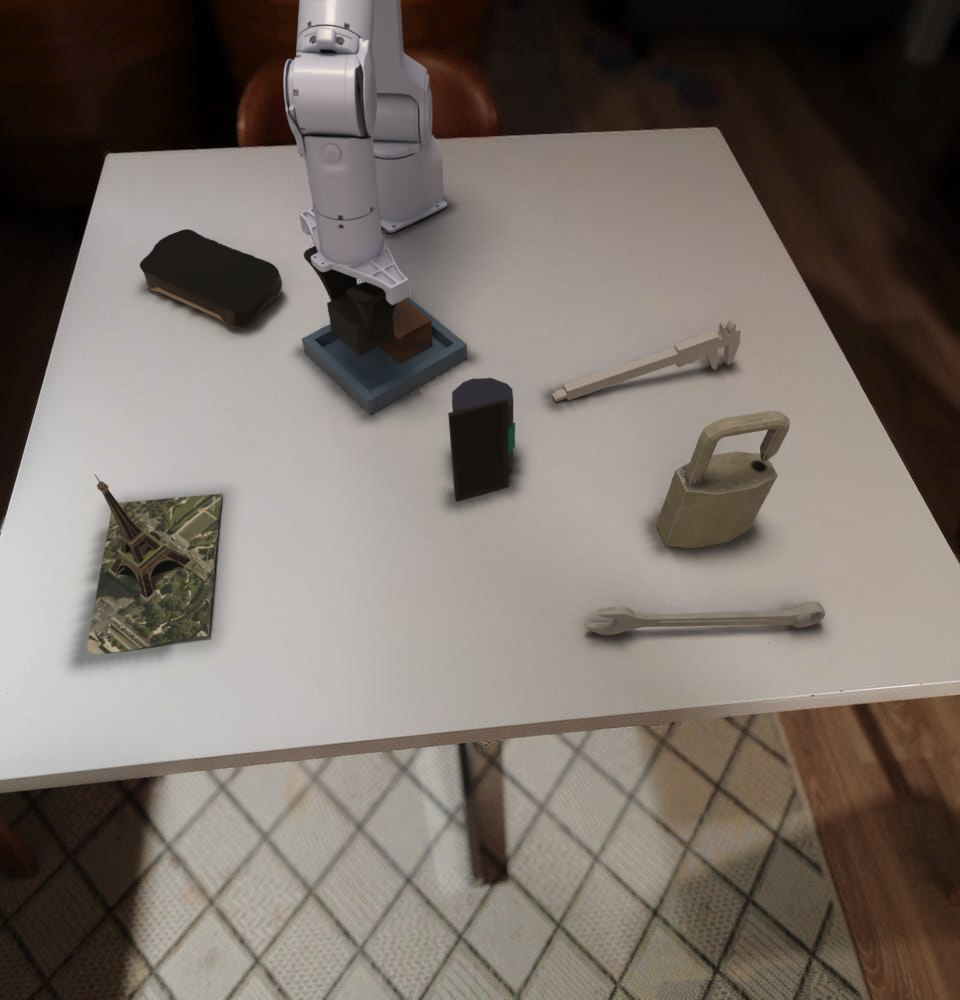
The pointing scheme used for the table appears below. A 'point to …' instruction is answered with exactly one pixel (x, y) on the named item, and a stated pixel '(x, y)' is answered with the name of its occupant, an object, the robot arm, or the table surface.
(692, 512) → the padlock
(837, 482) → the table surface
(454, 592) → the table surface
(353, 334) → the black block
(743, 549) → the table surface
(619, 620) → the combination wrench
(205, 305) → the black sponge
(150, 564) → the eiffel tower figurine
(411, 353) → the walnut block
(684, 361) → the caliper
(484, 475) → the speaker
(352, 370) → the holder
